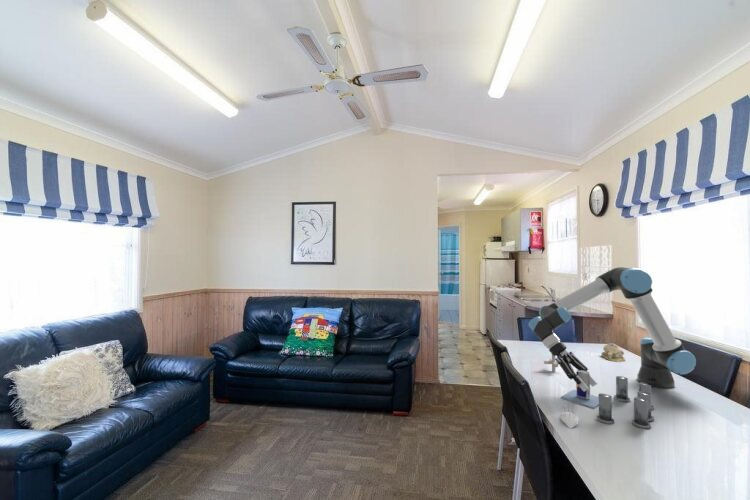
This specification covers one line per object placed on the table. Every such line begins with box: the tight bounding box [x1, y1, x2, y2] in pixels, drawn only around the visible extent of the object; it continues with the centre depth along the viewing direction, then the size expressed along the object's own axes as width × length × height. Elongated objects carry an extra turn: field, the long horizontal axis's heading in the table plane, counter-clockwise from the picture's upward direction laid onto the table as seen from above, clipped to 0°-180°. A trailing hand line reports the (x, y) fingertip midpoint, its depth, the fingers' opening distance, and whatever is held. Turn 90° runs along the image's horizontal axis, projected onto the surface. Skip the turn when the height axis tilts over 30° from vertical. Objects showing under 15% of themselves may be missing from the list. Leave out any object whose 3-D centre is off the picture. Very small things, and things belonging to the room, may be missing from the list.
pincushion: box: [560, 406, 579, 429], centre depth 137 cm, size 12×6×6 cm, turn 155°
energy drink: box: [575, 369, 591, 400], centre depth 158 cm, size 5×5×12 cm
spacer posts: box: [596, 375, 655, 430], centre depth 143 cm, size 19×35×10 cm, turn 127°
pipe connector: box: [543, 354, 560, 373], centre depth 195 cm, size 10×10×10 cm
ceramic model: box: [601, 342, 626, 363], centre depth 219 cm, size 14×11×10 cm
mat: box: [560, 389, 599, 409], centre depth 158 cm, size 14×14×1 cm
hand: (590, 387), depth 155 cm, fingers open, 9 cm apart
